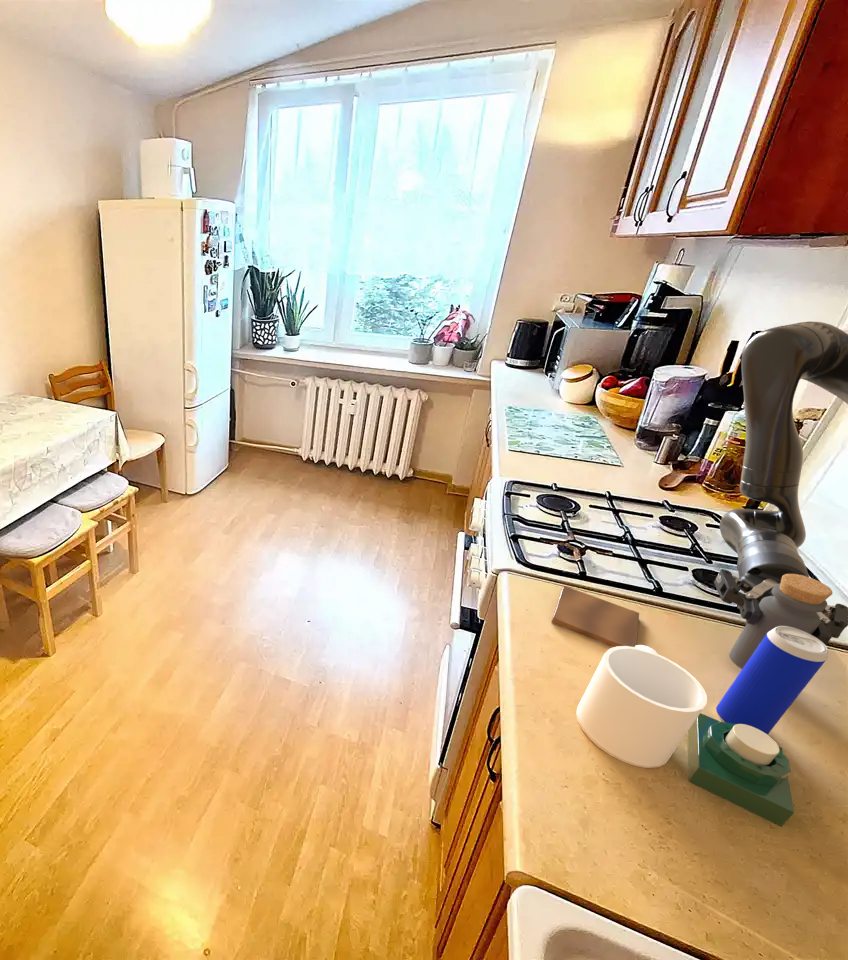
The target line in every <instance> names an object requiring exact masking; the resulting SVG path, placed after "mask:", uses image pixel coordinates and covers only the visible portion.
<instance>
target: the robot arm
mask: <svg viewBox="0 0 848 960" xmlns="http://www.w3.org/2000/svg"><path fill="white" fill-rule="evenodd" d="M740 365H741V380H742V390H743V404H744V419H745V420H744V421H745V446H744V453H743V461H742V469H741V475H740V481H739V492H740V494H741V495H742V496H743V497H744V498H747V499H750V500H754V501H758V502H762V503H766V504H769V505H773V506H774V507H776V508H777V509H778V510H766V509H753V508H735V509H731V510H729V511H727V512H726V513H724V515H722V517H721V518H720V522H719V532H720V535H721V538H722V539H723V541H724V542H725V543H726V545H727V546H728V547H729V548H730V549H731V550H732V551H733V552H735V554H737V562H736V563H737V564H736V569H737V572H738V576H735V575H733V573H732V572H731V571H730V570H729V569H725V568H722V569H721V568H720V571H719V572H718V574H717V576H716V577H715V579H714V581H713V584H714V586H715V589H716V591H717V593H718V595H719V597H720V599H721V601H722V602H723V603H726V604H735V605H736V606H737V608H738V609H739V612H740V617H741V618H742V619H743V620H745V623H746V624H747V623H748V624H751V625H754V624H755V623H756V622H757V620H758V618H759V617H760V615H761V611H760V607H759V603H760V601H761V600H762V599H763V598H764V597H768V596H773V594H772V592H771V591H772V589H773V587H774V586H775V585H776V584H780V583H781V579H782V576H783V575H785V574H798V575H803V576H806V577H810V574H809V572H808V569H807V566H806V563H805V561H804V559H803V558H802V557H801V555H800V554H799V553H800V552H799V551H798V549H799V548H800V547H801V546H802V545H803V544H804V543H805V541H806V538H807V537H806V536H807V534H806V526H805V524H804V521H803V516H802V513H801V510H800V509H801V508H800V504H799V487H800V486H799V485H800V481H801V475H802V469H803V462H804V450H803V444H802V440H801V437H800V435H799V432H798V430H797V427H796V424H795V423H796V422H795V420H794V412H793V411H794V409H793V407H794V406H793V405H794V399H795V394H796V391H797V388H798V385H799V383H800V380H804V381H806V382H808V383H812V384H814V385H815V386H817V387H819V388H821V389H823V390H825V391H827V392H828V393H830V394H832V395H834V396H836V397H837V398H838V399H840V400H841V401H843V402H844V403H845V404H847V405H848V332H846V331H843V330H842V329H841V328H839V327H837V326H835V325H833V324H831V323H828V322H827V323H826V322H823V321H810V320H809V321H803V322H802V321H801V322H797V323H796V322H795V323H789V324H786V325H785V324H784V325H779V326H775V327H771V328H768V329H764V330H761V331H760V332H758V333H757V334H755V335H754V336H752V337H751V338H750V339H749V340H748V341H747V343H746V345H745V346H744V347H743V349H742V355H741V364H740ZM740 591H741V592H740ZM816 613H817V614H818V615H819V617H820V619H821V622H820V624H819V625H818V627H817V628H816V630H815V631H814V633H813V634H812V636H814V637H816V638H817V639H819V640H820V641H822V642H823V643H824V644H825V645H826V646H827V645H828V643H829V642H830V640H831V639H832V638H833V639H839V637H841V634H842V633H843V631H844V630H845V629H846V628H847V627H848V606H847V605H845V604H842V603H835V605H829V604H827V606H826V608H825V609H824V611H822V612H816Z"/></svg>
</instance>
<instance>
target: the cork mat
mask: <svg viewBox="0 0 848 960" xmlns="http://www.w3.org/2000/svg"><path fill="white" fill-rule="evenodd" d="M639 619H640V612H638V611H635V610H633V609H629V608H627V607H624V606H621V605H618V604H616V603H613V602H610V601H608V600H605V599H603V598H599V597H597V596H594V595H591V594H589V593H586V592H583V591H581V590H577V589H575V588H571V587H569V586H566V585H563V586H562V588H561V591H560V594H559V597H558V600H557V603H556V606H555V610H554V613H553V615H552V619H551V624H554V625H557V626H560V627H563V628H564V629H567V630H569V631H572V632H574V633H577V634H580V635H582V636H584V637H587V638H589V639H591V640H593V641H594V640H595V641H596V642H599V643H602V644H604V645H607V646H609V647H611V648H613V647H616V646H630V647H635V646H636V645H637V639H638V638H637V637H638V630H639Z"/></svg>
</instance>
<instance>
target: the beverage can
mask: <svg viewBox="0 0 848 960" xmlns="http://www.w3.org/2000/svg"><path fill="white" fill-rule="evenodd" d="M828 655H829V649H828V647H827V644H826V645H825V644H824V643H823V642H822V641H820V640H819V639H817V638H816V637H814V636H812V635H810V634H808V633H806V632H804V631H802V630H799V629H796V628H792V627H787V626H778V627H775V628H774V629H772V630H770V631H769V632H768V633H767V634H766V636H765V637H764V638H763V640H762V641H761V643H760V644H759V646H758V647H757V649H756V650H755V652H754V653H753V654H752V656H751V657H750V659H749V660H748V662H747V663H746V665H745V666H744V668H743V669H741V670H740V672H739V673H738V674H737V676H736V677H735V679H734V680H733V682H732V683H731V685H730V686H729V688H728V689H727V691H726V692H725V693H724V695H723V696H722V698H721V699H720V701H719V703H718V704H717V705H716V707H715V709H716V714H717V716H718V718H719V719H720V722H727V723H734V724H745V725H749V726H752V727H755V728H757V729H759V730H761V731H762V732H764V733H766V734H767V735H768V736H769V734H770V732H772V730H773V729H774V727H775V726H776V725H777V723H778V722H779V721H780V720H781V718H783V716H784V714H785V713H786V712H787V711H788V709H790V707H791V705H792V704H793V703H794V702H795V701H796V699H797V698H798V697H799V695H800V694H801V693H802V692H803V690H804V689H805V688H806V687H807V685H808V684H809V683H810V682H811V680H812V679H813V678H814V677H815V675H816V674H817V673H818V671H819V670H820V669H821V668H822V667H823V665H824V664H825V662H827V660H828Z"/></svg>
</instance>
